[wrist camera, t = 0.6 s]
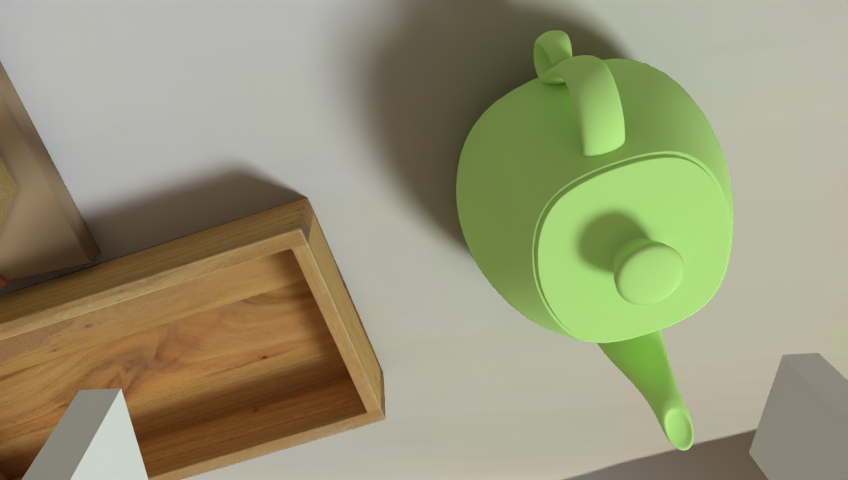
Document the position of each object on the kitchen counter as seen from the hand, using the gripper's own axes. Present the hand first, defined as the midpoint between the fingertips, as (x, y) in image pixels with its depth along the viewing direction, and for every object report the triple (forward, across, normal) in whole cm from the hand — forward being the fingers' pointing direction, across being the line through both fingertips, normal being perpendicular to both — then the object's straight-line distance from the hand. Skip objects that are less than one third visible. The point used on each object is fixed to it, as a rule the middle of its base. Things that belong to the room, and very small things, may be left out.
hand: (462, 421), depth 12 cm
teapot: (+26, +11, -6) cm, 29 cm away
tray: (+27, -19, -18) cm, 37 cm away
